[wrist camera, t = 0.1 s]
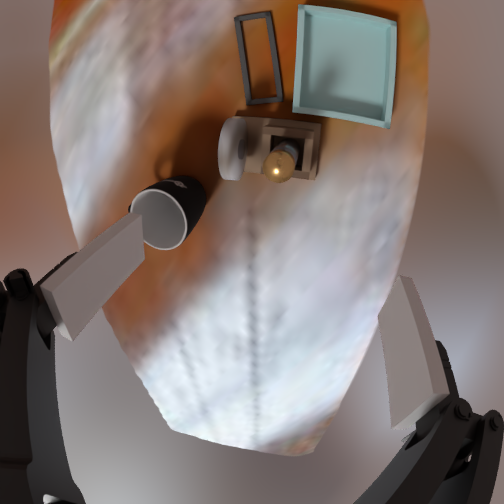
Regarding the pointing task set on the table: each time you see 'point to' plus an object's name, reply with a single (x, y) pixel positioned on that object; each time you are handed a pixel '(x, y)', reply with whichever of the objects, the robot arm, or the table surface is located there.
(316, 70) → the tray
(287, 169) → the pin
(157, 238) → the mug
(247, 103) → the dark gray rectangular frame
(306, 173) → the tensioner block
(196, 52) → the table surface
